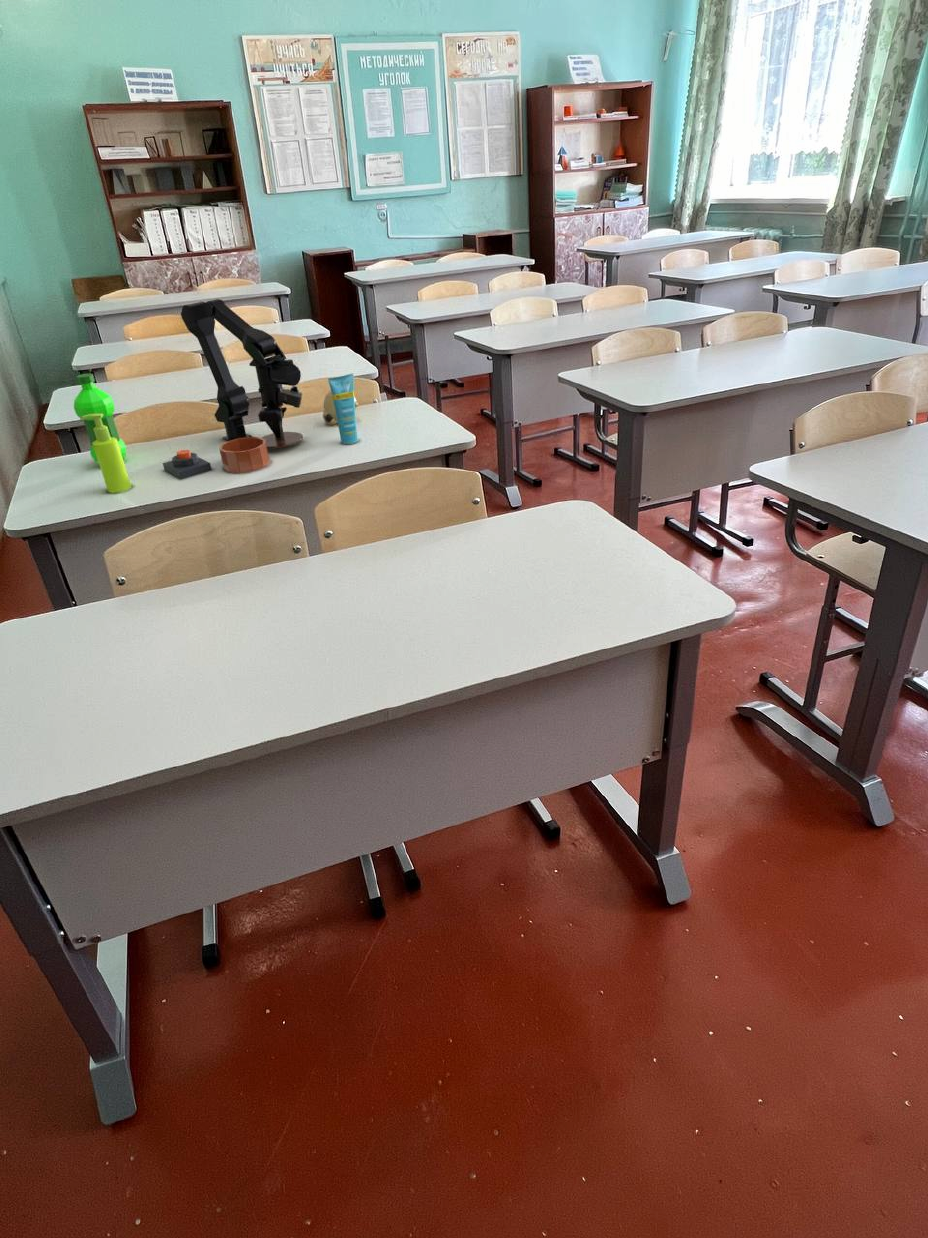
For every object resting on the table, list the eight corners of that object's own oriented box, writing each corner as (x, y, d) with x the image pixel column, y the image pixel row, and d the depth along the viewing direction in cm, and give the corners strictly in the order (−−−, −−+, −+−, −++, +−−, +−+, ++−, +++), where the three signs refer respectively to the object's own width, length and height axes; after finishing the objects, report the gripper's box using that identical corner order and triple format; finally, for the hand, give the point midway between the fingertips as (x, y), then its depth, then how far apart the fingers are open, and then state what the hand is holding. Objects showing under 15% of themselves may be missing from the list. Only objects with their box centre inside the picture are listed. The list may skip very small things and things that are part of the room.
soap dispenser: (108, 486, 204) (84, 412, 193) (134, 483, 204) (111, 409, 193) (101, 494, 199) (75, 419, 188) (127, 491, 199) (104, 416, 188)
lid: (249, 441, 224) (246, 428, 221) (288, 430, 231) (285, 417, 229) (271, 451, 215) (269, 437, 213) (312, 439, 222) (309, 425, 220)
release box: (164, 470, 212) (160, 456, 209) (194, 461, 216) (191, 448, 214) (181, 479, 204) (177, 465, 202) (211, 470, 209) (208, 456, 207)
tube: (342, 446, 219) (331, 379, 209) (335, 442, 223) (324, 376, 213) (364, 440, 223) (356, 374, 213) (357, 437, 226) (348, 371, 216)
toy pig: (341, 428, 246) (313, 409, 242) (362, 397, 243) (334, 378, 238) (343, 436, 238) (314, 417, 233) (365, 405, 235) (336, 384, 230)
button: (175, 458, 209) (174, 452, 208) (188, 454, 211) (186, 448, 210) (181, 461, 206) (179, 454, 205) (193, 457, 208) (192, 451, 207)
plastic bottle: (108, 471, 214) (79, 381, 201) (86, 466, 219) (56, 378, 206) (138, 459, 221) (112, 372, 208) (115, 454, 226) (88, 369, 213)
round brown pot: (216, 466, 212) (211, 445, 208) (256, 454, 218) (251, 434, 215) (237, 476, 203) (232, 455, 200) (278, 463, 210) (273, 442, 207)
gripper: (294, 388, 206) (304, 444, 215) (300, 372, 222) (309, 424, 230) (253, 392, 206) (264, 447, 214) (262, 375, 222) (272, 427, 230)
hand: (279, 436), depth 222 cm, fingers closed on lid, 3 cm apart
